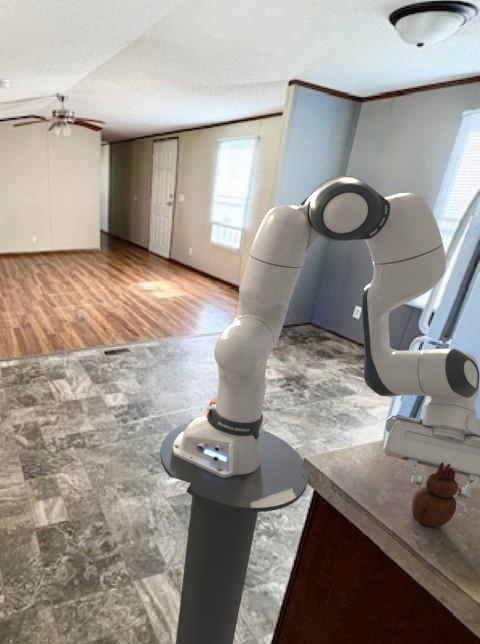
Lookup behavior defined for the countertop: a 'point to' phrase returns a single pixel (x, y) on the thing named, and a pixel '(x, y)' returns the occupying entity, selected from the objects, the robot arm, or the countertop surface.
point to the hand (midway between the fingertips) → (439, 490)
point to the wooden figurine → (436, 498)
